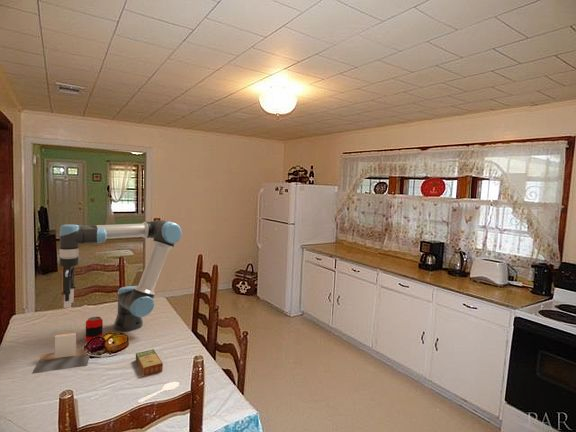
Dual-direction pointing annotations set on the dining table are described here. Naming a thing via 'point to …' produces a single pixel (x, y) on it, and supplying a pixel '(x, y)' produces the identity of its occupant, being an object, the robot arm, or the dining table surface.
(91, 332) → the soda can
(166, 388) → the spoon
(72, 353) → the tile
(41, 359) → the board
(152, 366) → the carton
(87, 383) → the dining table surface
